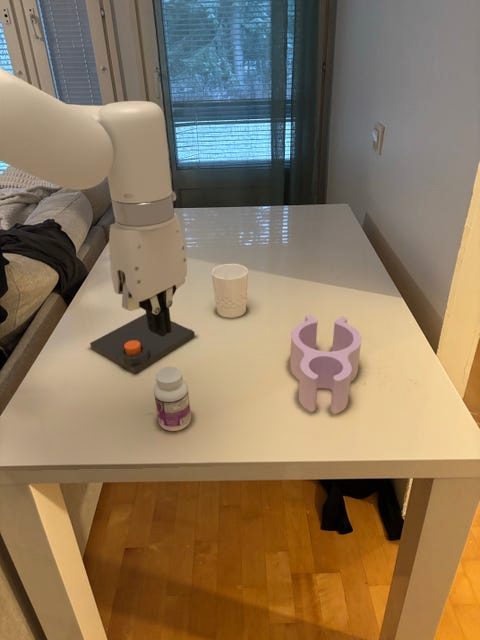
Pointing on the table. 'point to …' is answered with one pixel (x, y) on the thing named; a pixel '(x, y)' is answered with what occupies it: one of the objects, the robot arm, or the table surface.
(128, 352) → the button
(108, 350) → the scale
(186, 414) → the pill bottle
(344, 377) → the clip
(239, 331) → the table surface
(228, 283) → the white cup
